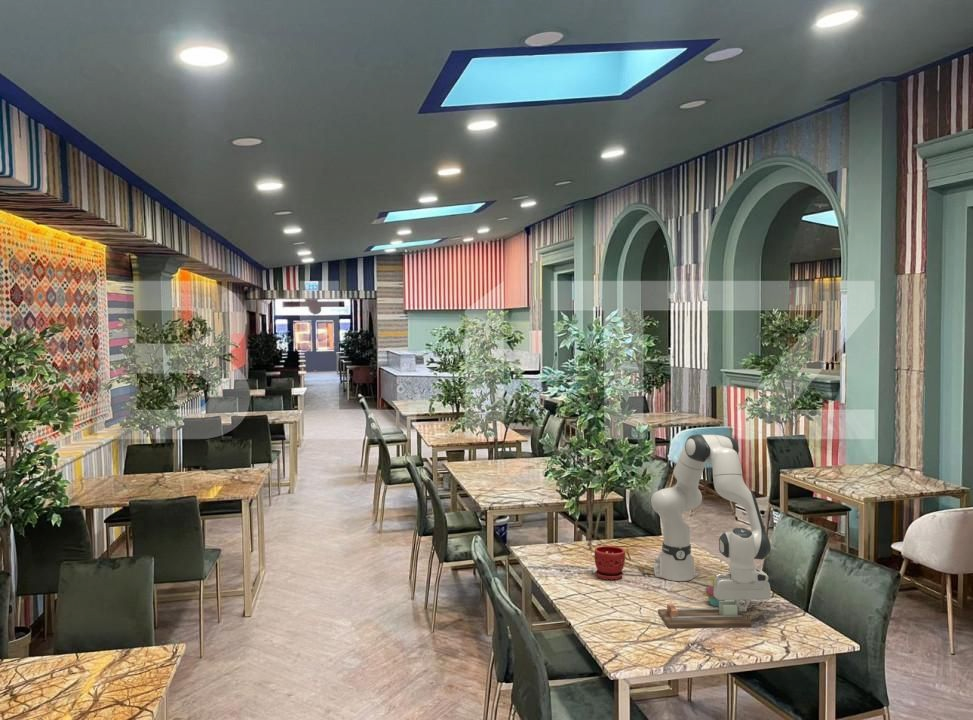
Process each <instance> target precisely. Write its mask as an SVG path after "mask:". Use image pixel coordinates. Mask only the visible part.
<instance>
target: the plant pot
mask: <svg viewBox="0 0 973 720" xmlns="http://www.w3.org/2000/svg"><path fill="white" fill-rule="evenodd" d="M593 553H594V564H595V566H596V569H597V570H595V575H596V576H598V577H599V578H600V579H603V580H607V579H611V580H612V579H615V580H618V579H621V578H622V577H623V575H624V572H623V569H624V566H625V561H626V550H625V549H623V548H622V547H619V546H612V545H603V546H597V547H595V548H594V552H593ZM612 581H613V580H612Z"/></svg>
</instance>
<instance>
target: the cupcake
mask: <svg viewBox="0 0 973 720" xmlns="http://www.w3.org/2000/svg"><path fill="white" fill-rule="evenodd" d="M714 578H715V576H714V575H713V574H711V581H712V585H709V586H708V587H707V588H705V591H704V592H705V595H706V597H708V601H709V603H710V605H711V606H713V607H715V608H719V601H726V600H717V599H716V598H715V597H714V586H715V585H714Z"/></svg>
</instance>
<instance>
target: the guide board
mask: <svg viewBox="0 0 973 720" xmlns="http://www.w3.org/2000/svg"><path fill="white" fill-rule="evenodd" d="M657 613H658V615H659V616H660V618H661V620H662V621H663V623H664V624H665V626H666V627H667V628H668V629H706V628H707V629H710V628H711V629H713V628H752V627H753V623H752V622H751V620H750V619H749V618H748V617H747V616H745V614H743V612H738V610H737V615H726V616H721V615H720V614H719V607H715V608H714V607H713V608H712V607H710V608H677V607H676V606H675V605H674V604H673V603H672V602H671V603H666V608H663V609H658V610H657Z"/></svg>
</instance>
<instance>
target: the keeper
mask: <svg viewBox="0 0 973 720" xmlns="http://www.w3.org/2000/svg"><path fill="white" fill-rule="evenodd" d="M718 608H719V614H720V615H721V616H726V615H737V605H736V603H735V601H734V600H725V601H719V607H718Z"/></svg>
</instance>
